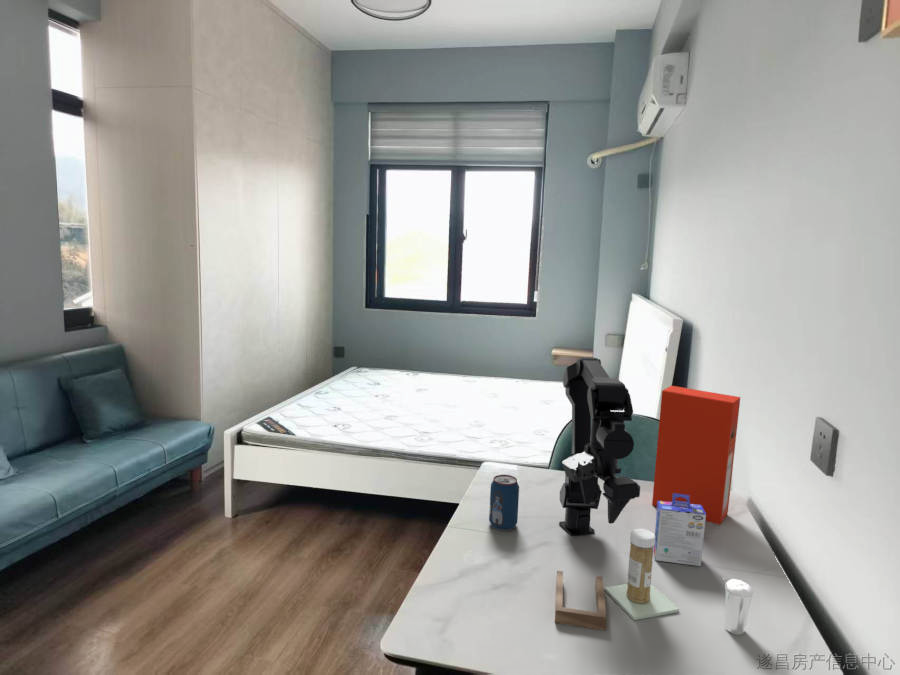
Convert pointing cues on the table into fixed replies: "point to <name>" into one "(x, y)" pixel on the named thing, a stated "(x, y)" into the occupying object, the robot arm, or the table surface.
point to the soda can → (504, 502)
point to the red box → (696, 449)
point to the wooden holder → (580, 616)
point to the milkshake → (737, 605)
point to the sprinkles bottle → (640, 565)
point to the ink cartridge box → (679, 531)
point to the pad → (642, 610)
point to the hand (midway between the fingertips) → (598, 513)
